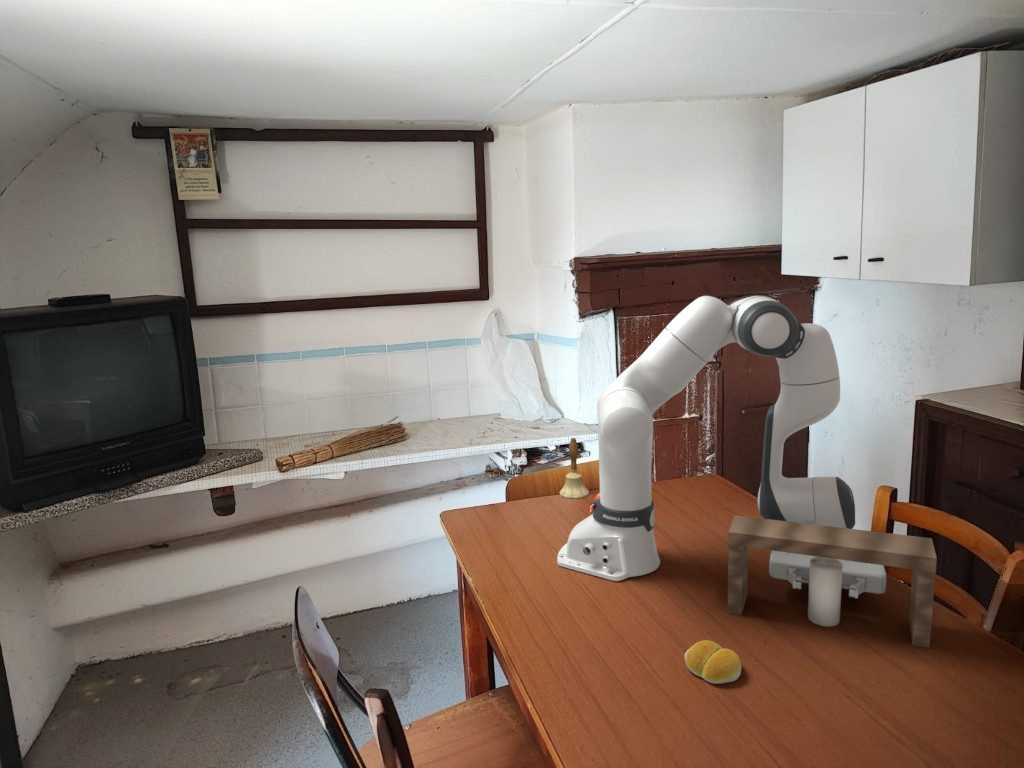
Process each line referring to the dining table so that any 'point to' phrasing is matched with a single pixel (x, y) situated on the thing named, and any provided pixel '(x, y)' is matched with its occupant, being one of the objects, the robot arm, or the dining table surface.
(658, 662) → the dining table surface
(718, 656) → the bread roll
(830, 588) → the white cylinder
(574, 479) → the hand bell
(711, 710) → the dining table surface
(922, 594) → the arch
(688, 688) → the dining table surface
